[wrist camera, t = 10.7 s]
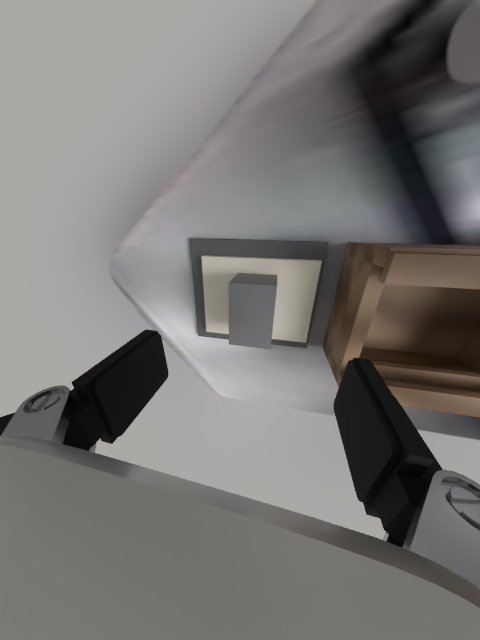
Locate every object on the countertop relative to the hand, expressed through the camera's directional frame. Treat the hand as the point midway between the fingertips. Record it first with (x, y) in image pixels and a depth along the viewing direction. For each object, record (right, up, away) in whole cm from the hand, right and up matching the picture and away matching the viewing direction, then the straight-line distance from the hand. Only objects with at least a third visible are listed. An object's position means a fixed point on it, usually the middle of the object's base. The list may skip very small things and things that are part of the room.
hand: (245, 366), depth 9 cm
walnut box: (+17, +4, +10) cm, 20 cm away
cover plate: (+2, +5, +12) cm, 13 cm away
